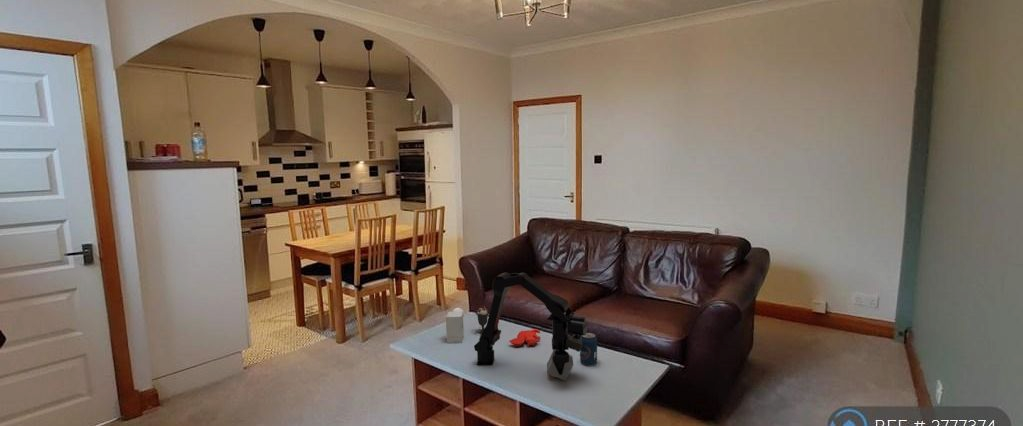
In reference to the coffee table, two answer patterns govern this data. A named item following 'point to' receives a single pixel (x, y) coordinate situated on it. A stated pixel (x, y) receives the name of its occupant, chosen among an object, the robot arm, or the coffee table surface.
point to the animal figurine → (526, 338)
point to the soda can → (588, 349)
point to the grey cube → (566, 370)
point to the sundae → (482, 317)
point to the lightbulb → (458, 310)
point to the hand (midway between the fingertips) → (560, 369)
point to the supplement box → (454, 327)
